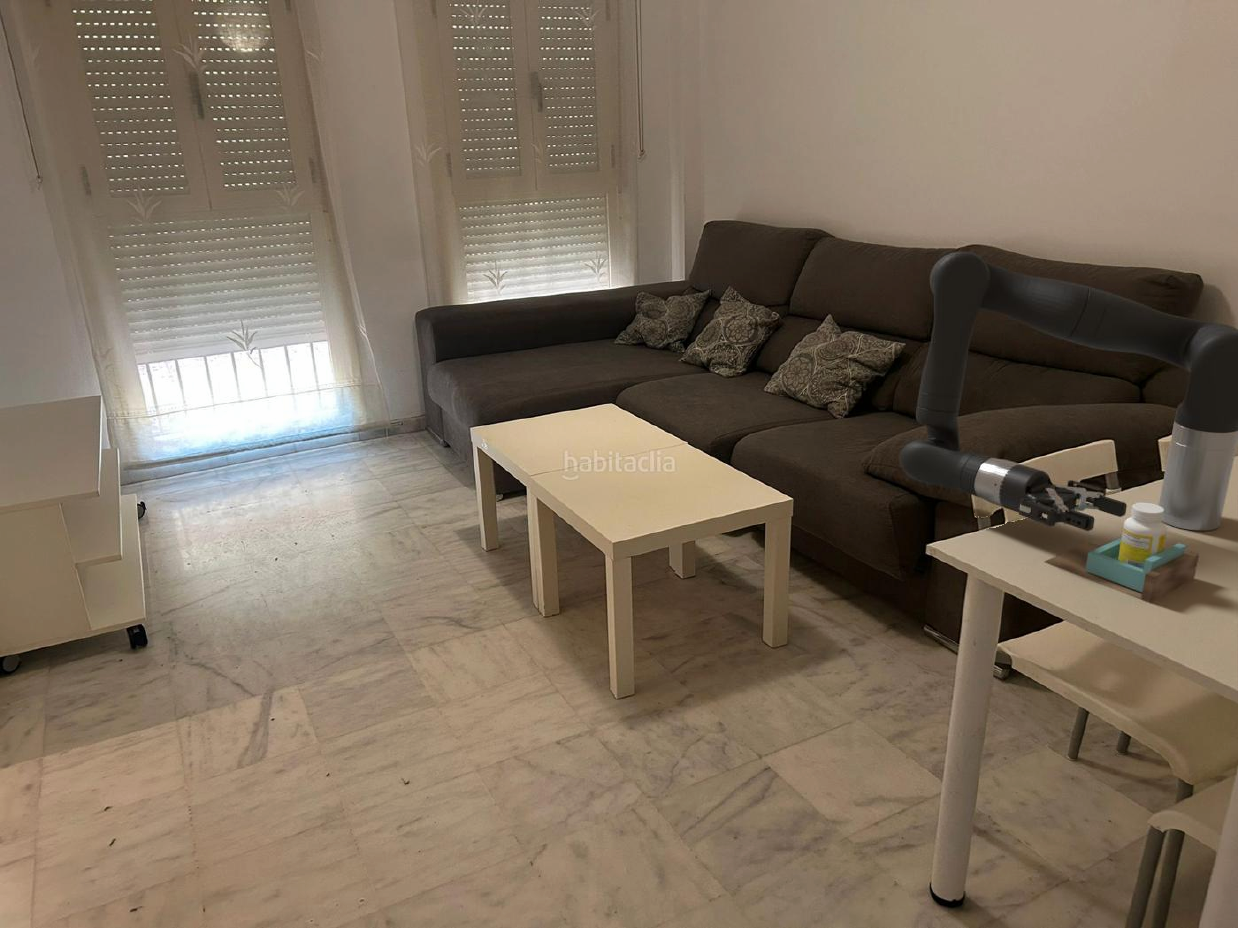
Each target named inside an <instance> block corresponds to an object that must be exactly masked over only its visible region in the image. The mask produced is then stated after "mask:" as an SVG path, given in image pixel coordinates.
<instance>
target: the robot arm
mask: <svg viewBox="0 0 1238 928" xmlns="http://www.w3.org/2000/svg"><path fill="white" fill-rule="evenodd" d="M929 286H930V289H931V292H932V294H933V301H934V302H933V316H934V317H933V325H932V326H933V327H932V332H931V340H930V344H929V348H928V351H927V352H928V353H927V356H926V359H925V363H924V367H923V372H922V375H921V380H920V386H919V391H918V398H917V405H916V409H915V419H916V420H917V423H919V424H920V425H922V426H924V427H926V439H918V440H914V441H911V442H909V443H908V444H906V445H905V446H904V447H903V448H902V450H901V451H900V454H899V465H900V467H901V469H902V471H903V473H905V475H907V476H908V477H910V479H912V480H915V481H917V482H920V483H925V484H929V485H933V486H938V487H944V488H951V489H954V490H955V489H956V490H959V491H961V492H963V493H966V494H969V495H971V496H974V497H978V498H980V499H983V500H985V501H986V502H988V503H990V504H994V505H996V506H999V507H1001V508H1004V509H1007V510H1010V511H1012V512H1016V513H1018V515H1019V516H1022V517H1025V518H1028V519H1030V520H1033V521H1035V522H1037V523H1040V524H1043V525H1046V526H1049V527H1055V525H1056V523H1057V524H1058V525H1062V526H1064V525H1069V526H1072V527H1074V528H1078V529H1081V530H1083V531H1086V532H1090V531H1093V529H1094V525H1095V517H1094V516H1093V515H1090V514H1086V513H1084V512H1083V511H1085V510H1086V509H1088V510H1089V509H1090V510H1098V511H1100V512H1104V513H1107V514H1110V515H1113V516H1116V517H1118V518H1122V517H1124V516H1125V515H1126V513H1127V506H1128V505H1127V503H1126V502H1124V501H1120V500H1118V499H1114V498H1111V497H1108V496H1106V493H1107V490H1106V489H1105V488H1102V487H1098V486H1093V485H1090V484H1087V483H1083V482H1079V481H1076V480H1073V479H1072V480H1067V484H1066V485H1065V484H1054V483H1053V481H1052V480H1051V478H1050V476H1049V474H1048V473H1047V472H1045V471H1044V470H1041V469H1037V468H1035V467H1030V466H1027V465H1024V464H1020V463H1018V462H1015V461H1010V460H1008V459H1001V458H995V457H992V456H990V455H989V456H988V455H985V454H982V453H978V452H974V451H969V450H968V451H966V450H965V451H961V446H960V431H959V423H958V415H959V411H960V407H961V406H960V405H961V399H962V395H963V388H964V380H965V373H966V367H967V360H968V352H969V347H970V342H971V338H972V334H973V330H974V327H975V322H976V320H977V316H978V313H979V310H981V311H985V312H990V313H994V314H998V315H1002V316H1004V317H1008V318H1010V319H1012V320H1014V321H1016V322H1019V323H1021V324H1023V325H1025V326H1028V327H1030V328H1033V329H1034V330H1036V331H1039V332H1042V333H1043V334H1044V333H1045V334H1046V335H1049V336H1053V337H1055V338H1058V339H1060V340H1064V341H1066V342H1071V343H1072V344H1073V343H1074V344H1077V345H1080V346H1084V347H1088V348H1091V349H1096V350H1103V351H1110V352H1119V353H1133V354H1134V353H1135V354H1140V355H1144V356H1148V357H1152V358H1155V359H1158V360H1160V361H1163V362H1166V363H1169V364H1171V365H1173V366H1175V367H1178V368H1181V369H1183V370H1185V371H1186V372H1188V373H1189V378H1188V383H1187V387H1186V392H1185V396H1184V399H1183V401H1182V402H1180V403H1179V404H1178V405H1177V408H1176V412H1175V417H1174V422H1173V426H1172V427H1173V428H1172V432H1171V438H1170V444H1169V449H1168V453H1167V454H1168V455H1167V460H1166V463H1165V464H1166V465H1165V470H1164V476H1163V481H1162V485H1161V491H1160V496H1159V501H1158V506H1161V507H1162V508H1163V509H1164V515H1163V519H1162V520H1161V522H1163V523H1164V524H1167V525H1170V526H1172V527H1175V528H1180V529H1185V530H1190V531H1212V530H1216V529H1218V528H1219V527H1220V526H1221V521H1222V517H1223V512H1224V506H1225V502H1226V498H1227V493H1228V490H1229V489H1228V488H1229V485H1230V480H1231V477H1232V476H1231V475H1232V471H1233V465H1234V462H1235V457H1236V452H1237V447H1238V328H1237V327H1234V326H1231V325H1228V324H1223V323H1217V322H1211V321H1205V320H1199V319H1193V318H1188V317H1185V316H1184V317H1183V316H1178V315H1174V314H1169V313H1167V312H1166V313H1165V312H1162V311H1159V310H1157V309H1154V308H1152V307H1150V306H1148V305H1145V304H1142V303H1140V302H1137V301H1134V300H1131V299H1128V298H1126V297H1124V296H1121V295H1117V294H1114V293H1111V292H1109V291H1106V290H1105V291H1104V290H1101V289H1097V288H1094V287H1091V286H1087V285H1083V284H1080V283H1079V284H1078V283H1074V282H1070V281H1065V280H1060V279H1053V278H1048V277H1041V276H1040V277H1039V276H1033V275H1026V274H1023V273H1019V272H1014V271H1012V270H1009V269H1007V268H1003V267H1001V266H998V265H996V264H993V263H990V262H988V261H985V260H983V259H982V258H981V256H979V255H977V254H976V253H972V252H970V251H969V252H968V251H955V252H950V253H948V254H946V255H944V256H942V257H941V258H940V259H939V260H938V261H937V262H936V263H935V264H934V266H933V267H932V268H931V272H930V274H929ZM1077 500H1079V501H1078V503H1077ZM1043 515H1045V516H1046V517H1044V516H1043Z"/></svg>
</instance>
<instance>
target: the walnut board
mask: <svg viewBox="0 0 1238 928" xmlns="http://www.w3.org/2000/svg"><path fill="white" fill-rule="evenodd" d="M1102 546H1103V545H1100V544H1098V543H1097V544H1096V543H1094V542H1091V541H1088V542H1085V543H1082V544H1080V545H1078V546H1076V547H1073V548H1072V549H1070V550H1067V551H1065V552H1062V553H1060V554H1058V555H1056V556H1053V557H1051V558H1049V559H1047V560H1045V561H1043V563H1045V564H1048V565H1050V566H1053V567H1056V568H1058V569H1061V570H1063V571H1067V572H1069V573H1070V574H1071V573H1072V574H1074V575H1077V576H1079V577H1081V578H1085V579H1086V580H1089V581H1092V582H1094V583H1097V584H1100V585H1103V586H1105V587H1108V588H1110V589H1112V590H1116V591H1117V592H1120V593H1122V594H1125V595H1128V596H1131V597H1133V598H1136V599H1139V600H1141V601H1143V602H1146V603H1148V604H1151V603H1152V602H1154V601H1156V600H1158V599H1159V598H1161V597H1163V596H1166V595H1168V593H1171V592H1173V591H1175V590H1176V589H1178V588H1180V587H1182V586H1184V585H1186V584H1188V583H1190V582H1191V581H1193V580H1195V576H1196V571H1197V566H1198V561H1199V557H1200V554H1199V553H1197V552H1194V551H1191V550H1190V551H1188V552H1185V553H1184V555H1182V556H1180V557H1178V558H1176V559H1174V560H1172V561H1170V562H1168V563H1166V564H1164V565H1162V566H1160V567H1158V568H1156V569H1154V570H1152V571H1150V572H1148V573H1146V575H1145V580H1144V586H1143V591H1142V592H1140V591H1137V590H1134V589H1132V588H1129V587H1126V586H1124V585H1121V584H1119V583H1116V582H1113V581H1111V580H1108V579H1105V578H1103V577H1100V576H1098V575H1095V574H1092V573H1090V572H1087V571H1085V570H1086V564H1087V558H1088V553H1089V552H1091V551H1093V550H1095V549H1097V548H1100V547H1102Z"/></svg>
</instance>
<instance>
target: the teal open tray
mask: <svg viewBox="0 0 1238 928" xmlns="http://www.w3.org/2000/svg"><path fill="white" fill-rule="evenodd" d="M1121 538H1122V536H1121V537H1119V538H1117V539H1115V540H1112V541H1111V542H1108V543H1106V544H1104V545H1101V546H1102V547H1100V548H1097V549H1095V550H1093V551H1091V552H1089V553H1088V558H1087V564H1086V570H1085V571H1087V572H1090V573H1092V574H1095V575H1098V576H1100V577H1103V578H1105V579H1108V580H1111V581H1113V582H1116V583H1119V584H1121V585H1124V586H1126V587H1129V588H1132V589H1134V590H1137V591H1140V592H1142V591H1143V586H1144V580H1145V575H1146V573H1148V572H1150V571H1152V570H1154V569H1156V568H1158V567H1160V566H1162V565H1164V564H1166V563H1168V562H1170V561H1172V560H1174V559H1176V558H1178V557H1180V556H1182V555H1184V554H1186V548H1187V545H1185V544H1182V543H1180V542H1179V543H1176V544H1175V545H1174V544H1173V545H1172V546H1171V547H1168V548H1166V549H1163V551H1162V552H1160V553H1158V554H1156V555H1154V556H1152V557H1150V558H1148V559H1146V560H1145V563H1144V569H1141V568H1138V567H1135V566H1133V565H1130V564H1127V563H1124V562H1122V561H1119V560H1118V557H1119V551H1120V544H1121Z"/></svg>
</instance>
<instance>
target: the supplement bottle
mask: <svg viewBox="0 0 1238 928" xmlns="http://www.w3.org/2000/svg"><path fill="white" fill-rule="evenodd" d="M1163 515H1164V509H1163V508H1162V507H1161V506H1159V504H1155V503H1150V502H1136V503H1134V504H1133V505H1131V511H1130V517H1128V518H1126V519H1125V520H1124V522H1123V527H1122V533H1121V537H1122V538H1121V537H1120V538H1121V544H1120V551H1119V557H1118V560H1119V561H1122V562H1124V563H1127V564H1130V565H1133V566H1135V567H1138V568H1141V569H1144V563H1145V560H1146V559H1148V558H1150V557H1152V556H1154V555H1156V554H1158V553H1160V552H1162V551H1164V548H1165V547H1164V546H1165V541H1166V537H1167V529H1168V528H1167V526H1166V523H1165V522H1163V521H1161V520H1162V519H1163Z"/></svg>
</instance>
